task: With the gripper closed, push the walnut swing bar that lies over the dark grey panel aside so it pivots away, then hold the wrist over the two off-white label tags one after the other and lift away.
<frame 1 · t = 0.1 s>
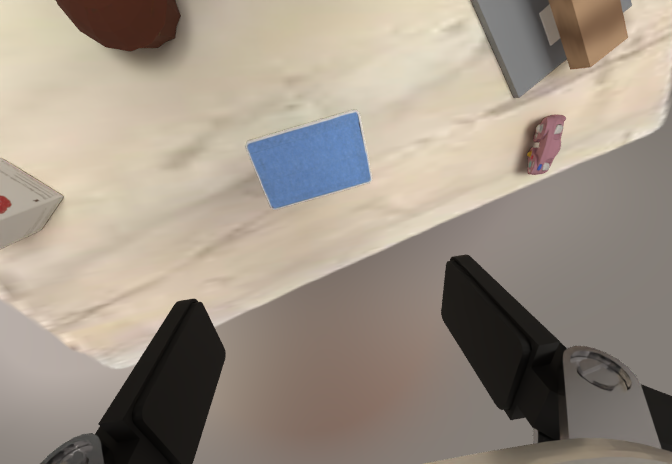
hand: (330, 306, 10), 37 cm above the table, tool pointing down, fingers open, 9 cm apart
muffin: (144, 5, 33), on the table
video game controller: (533, 143, 47), on the table
tablet computer: (312, 162, 45), on the table
supplement box: (24, 195, 42), on the table
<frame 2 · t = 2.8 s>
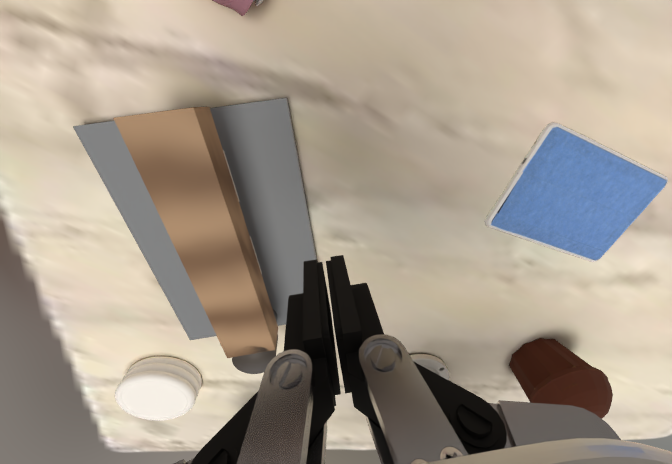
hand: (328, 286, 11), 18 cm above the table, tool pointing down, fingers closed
swing bar: (225, 268, 23), point 6 cm above the table, hinge at 0.0°
muffin: (532, 354, 45), on the table
tablet computer: (568, 198, 32), on the table
label panel: (231, 238, 29), on the table
white round container: (167, 375, 38), on the table
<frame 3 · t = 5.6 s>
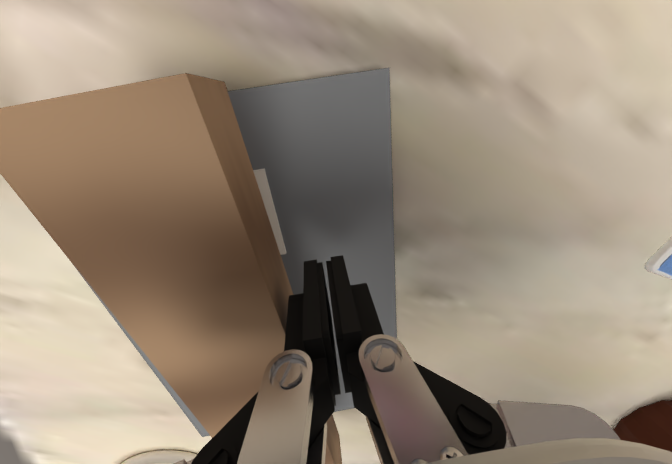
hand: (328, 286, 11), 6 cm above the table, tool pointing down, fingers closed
swing bar: (263, 384, 13), point 6 cm above the table, hinge at 2.1°, touching gripper
muffin: (644, 417, 34), on the table
label panel: (266, 302, 18), on the table
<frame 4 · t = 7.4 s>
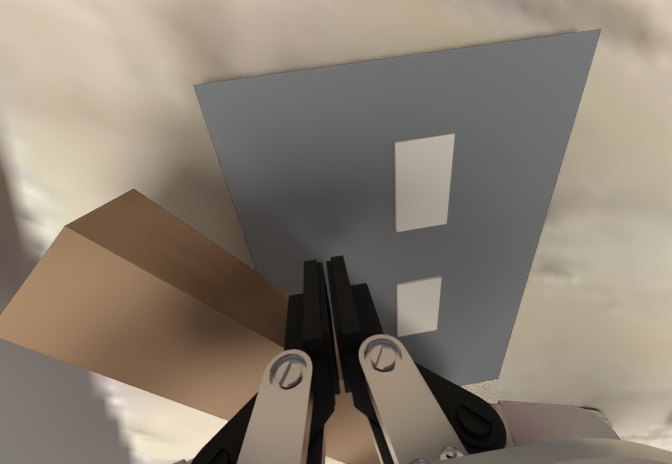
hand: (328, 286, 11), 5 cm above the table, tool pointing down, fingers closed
swing bar: (336, 394, 14), point 6 cm above the table, hinge at 35.9°, touching gripper
label panel: (397, 276, 18), on the table
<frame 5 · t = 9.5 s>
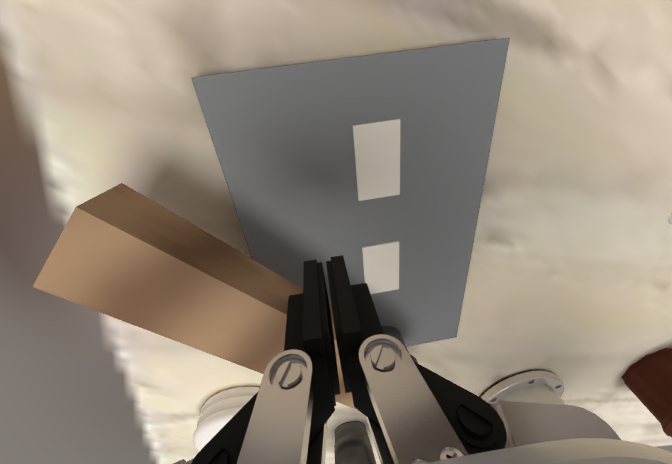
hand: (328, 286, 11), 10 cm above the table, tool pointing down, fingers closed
swing bar: (298, 337, 17), point 6 cm above the table, hinge at 40.9°
muffin: (648, 365, 39), on the table
label panel: (364, 243, 22), on the table
beverage cup: (349, 428, 37), on the table
white round container: (246, 406, 31), on the table
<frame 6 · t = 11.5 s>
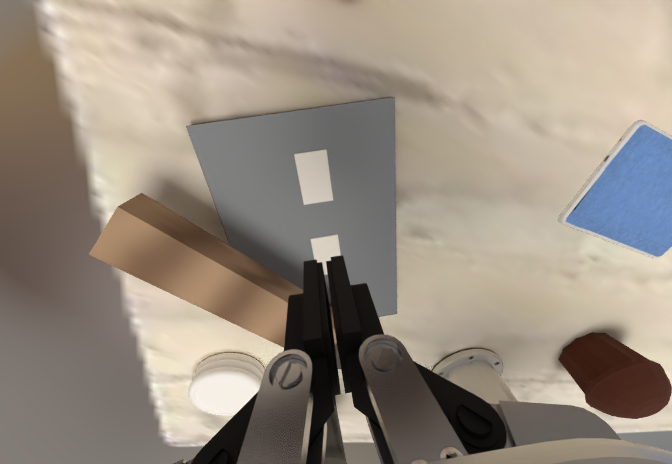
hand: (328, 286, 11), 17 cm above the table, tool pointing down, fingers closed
swing bar: (259, 300, 25), point 6 cm above the table, hinge at 40.9°
muffin: (582, 348, 45), on the table
tablet computer: (638, 196, 32), on the table
label panel: (315, 236, 29), on the table
beverage cup: (320, 396, 44), on the table
white round container: (232, 371, 39), on the table
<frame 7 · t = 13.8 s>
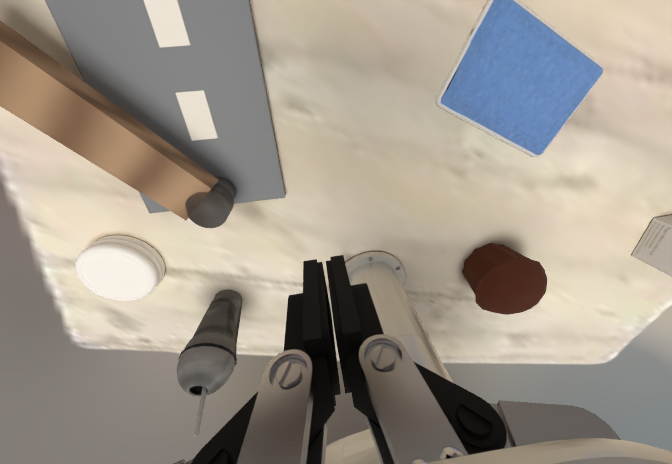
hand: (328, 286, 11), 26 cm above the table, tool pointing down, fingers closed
swing bar: (109, 136, 25), point 6 cm above the table, hinge at 40.9°
muffin: (484, 262, 48), on the table
tablet computer: (514, 85, 34), on the table
label panel: (186, 97, 29), on the table
beverage cup: (228, 298, 45), on the table
supplement box: (659, 233, 50), on the table
white round container: (130, 261, 39), on the table
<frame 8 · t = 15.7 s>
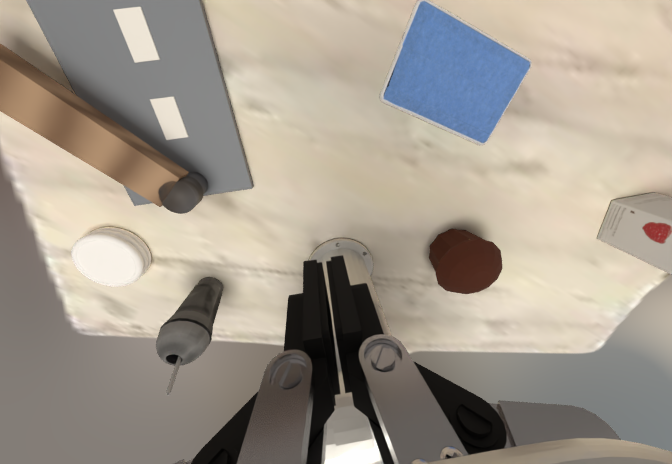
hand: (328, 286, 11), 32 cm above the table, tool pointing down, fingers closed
swing bar: (92, 136, 30), point 6 cm above the table, hinge at 40.9°
muffin: (449, 247, 51), on the table
tablet computer: (451, 81, 38), on the table
label panel: (160, 103, 34), on the table
beverage cup: (211, 286, 49), on the table
supplement box: (622, 215, 52), on the table
white round container: (121, 251, 44), on the table
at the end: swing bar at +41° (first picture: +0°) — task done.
